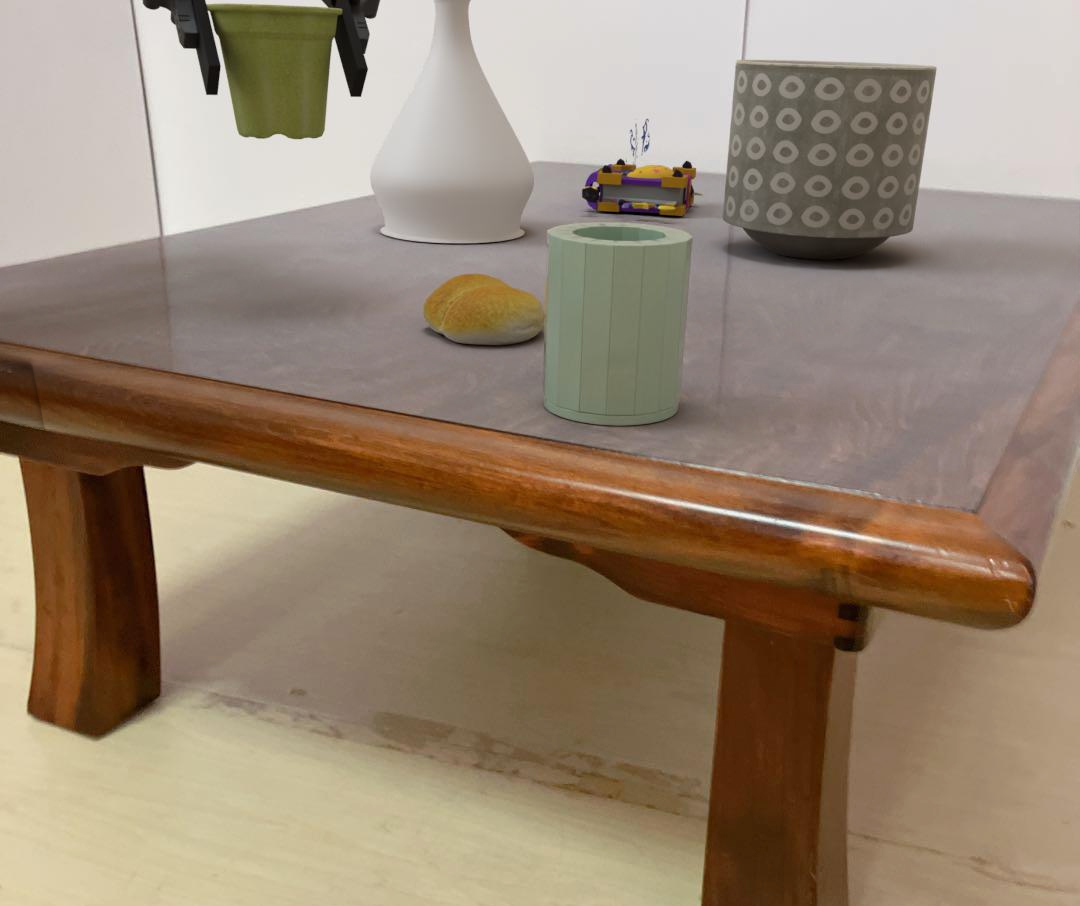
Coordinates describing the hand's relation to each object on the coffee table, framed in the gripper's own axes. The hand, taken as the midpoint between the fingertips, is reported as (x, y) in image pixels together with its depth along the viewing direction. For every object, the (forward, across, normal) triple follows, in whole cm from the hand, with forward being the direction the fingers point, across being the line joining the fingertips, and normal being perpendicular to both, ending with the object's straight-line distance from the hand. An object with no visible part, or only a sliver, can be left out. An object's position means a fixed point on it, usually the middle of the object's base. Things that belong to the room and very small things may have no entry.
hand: (288, 81), depth 81 cm
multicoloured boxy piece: (-23, -56, -46) cm, 76 cm away
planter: (+2, -57, -21) cm, 61 cm away
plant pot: (+1, 0, -5) cm, 5 cm away
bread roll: (+17, -12, -6) cm, 22 cm away
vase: (-14, -26, -37) cm, 47 cm away
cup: (+31, -12, +8) cm, 34 cm away
